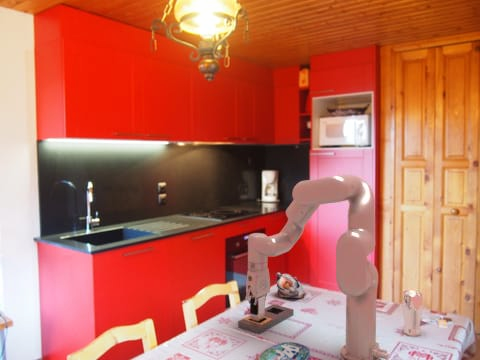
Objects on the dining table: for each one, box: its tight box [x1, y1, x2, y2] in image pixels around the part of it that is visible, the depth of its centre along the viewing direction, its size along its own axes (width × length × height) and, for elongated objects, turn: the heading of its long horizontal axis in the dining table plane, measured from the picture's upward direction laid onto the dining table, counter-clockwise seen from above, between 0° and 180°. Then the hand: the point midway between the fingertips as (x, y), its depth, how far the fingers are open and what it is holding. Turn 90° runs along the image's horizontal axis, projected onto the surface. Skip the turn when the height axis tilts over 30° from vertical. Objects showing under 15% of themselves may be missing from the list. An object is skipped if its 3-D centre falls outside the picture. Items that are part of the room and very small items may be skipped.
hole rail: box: [237, 303, 294, 335], centre depth 159 cm, size 10×24×3 cm, turn 141°
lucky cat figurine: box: [276, 272, 307, 299], centre depth 189 cm, size 15×12×14 cm
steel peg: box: [249, 295, 266, 322], centre depth 154 cm, size 4×4×9 cm
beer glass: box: [401, 290, 424, 337], centre depth 149 cm, size 7×7×15 cm
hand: (257, 311), depth 154 cm, fingers closed on steel peg, 4 cm apart
